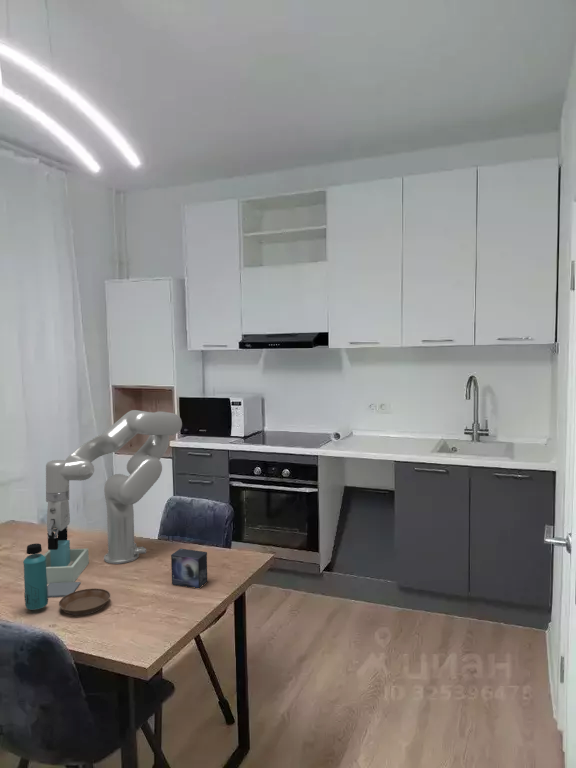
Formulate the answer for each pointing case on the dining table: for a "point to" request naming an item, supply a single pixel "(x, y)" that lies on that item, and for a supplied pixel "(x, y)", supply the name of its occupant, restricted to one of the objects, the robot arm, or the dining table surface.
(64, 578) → the frame
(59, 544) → the block
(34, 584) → the beverage bottle
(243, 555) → the dining table surface
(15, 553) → the dining table surface
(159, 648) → the dining table surface
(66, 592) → the mat
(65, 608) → the saucer
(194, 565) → the small box
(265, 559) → the dining table surface
